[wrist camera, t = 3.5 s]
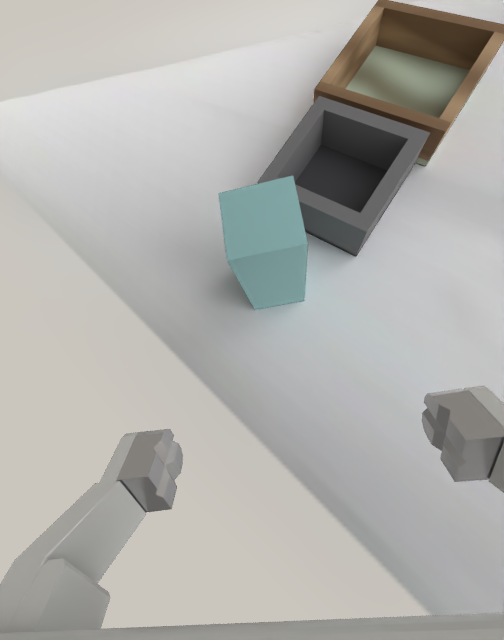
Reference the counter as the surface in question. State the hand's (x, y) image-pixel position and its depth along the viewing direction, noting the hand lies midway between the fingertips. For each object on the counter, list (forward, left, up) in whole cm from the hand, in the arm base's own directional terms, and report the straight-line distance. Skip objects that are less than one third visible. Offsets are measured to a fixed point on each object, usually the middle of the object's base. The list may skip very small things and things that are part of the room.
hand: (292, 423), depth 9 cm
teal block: (-3, -10, -14) cm, 18 cm away
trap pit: (-12, -16, -14) cm, 24 cm away
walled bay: (-23, -22, -14) cm, 34 cm away
